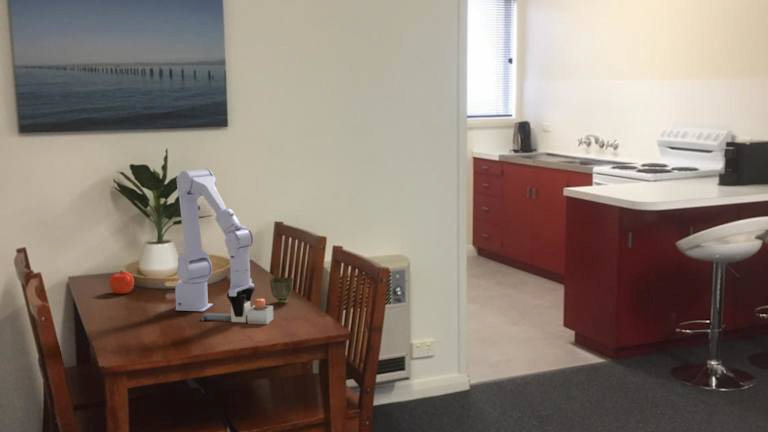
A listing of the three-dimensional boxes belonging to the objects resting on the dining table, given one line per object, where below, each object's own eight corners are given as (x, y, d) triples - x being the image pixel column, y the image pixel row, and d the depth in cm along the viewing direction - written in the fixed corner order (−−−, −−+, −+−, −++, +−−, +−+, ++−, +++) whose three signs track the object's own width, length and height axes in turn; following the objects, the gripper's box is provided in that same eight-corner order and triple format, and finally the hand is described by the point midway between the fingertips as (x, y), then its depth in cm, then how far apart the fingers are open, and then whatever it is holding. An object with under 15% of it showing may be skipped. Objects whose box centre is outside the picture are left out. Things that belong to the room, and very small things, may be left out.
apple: (139, 292, 275) (138, 269, 274) (120, 297, 268) (119, 273, 267) (124, 289, 279) (122, 266, 278) (105, 294, 272) (103, 271, 271)
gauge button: (253, 308, 237) (253, 300, 236) (256, 305, 240) (256, 298, 239) (263, 308, 236) (263, 301, 236) (266, 305, 239) (266, 298, 239)
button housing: (247, 323, 236) (246, 310, 236) (253, 317, 242) (253, 305, 241) (267, 324, 235) (266, 311, 235) (273, 318, 241) (273, 305, 240)
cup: (289, 306, 255) (288, 281, 253) (267, 305, 256) (266, 281, 255) (296, 300, 262) (295, 276, 261) (275, 299, 263) (274, 275, 262)
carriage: (231, 321, 238) (230, 303, 237) (236, 317, 242) (236, 299, 241) (245, 322, 237) (244, 304, 236) (250, 318, 242) (250, 300, 241)
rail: (201, 320, 239) (200, 315, 239) (206, 316, 244) (206, 311, 244) (247, 322, 237) (247, 317, 237) (252, 318, 241) (252, 313, 241)
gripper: (244, 275, 229) (246, 321, 232) (260, 264, 244) (262, 308, 246) (221, 274, 231) (223, 320, 233) (238, 264, 245) (240, 307, 247)
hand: (241, 314), depth 239 cm, fingers closed on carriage, 5 cm apart
